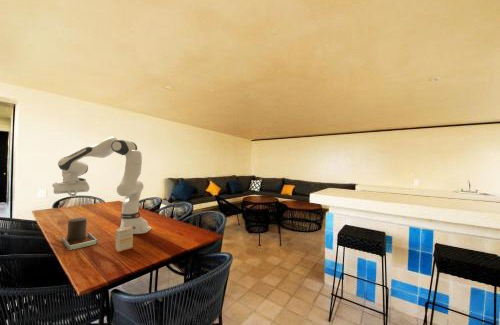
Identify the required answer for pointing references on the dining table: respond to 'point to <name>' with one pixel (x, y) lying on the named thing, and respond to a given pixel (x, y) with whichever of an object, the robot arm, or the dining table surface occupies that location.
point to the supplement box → (124, 238)
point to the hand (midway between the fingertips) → (73, 196)
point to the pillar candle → (76, 229)
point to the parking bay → (70, 247)
